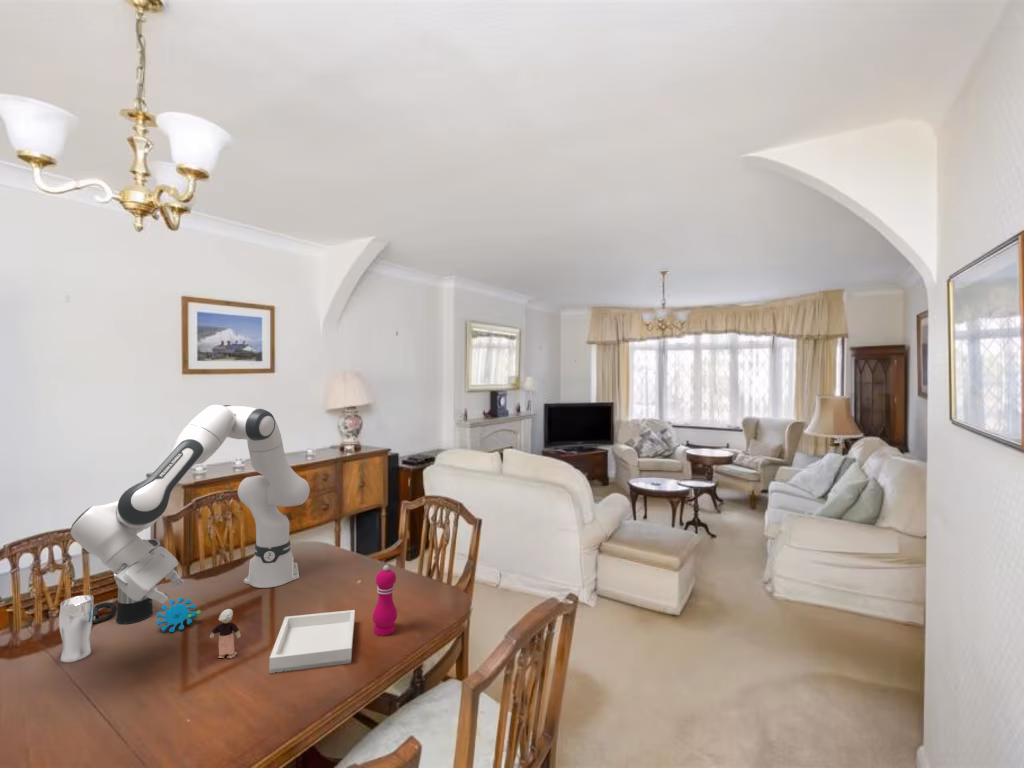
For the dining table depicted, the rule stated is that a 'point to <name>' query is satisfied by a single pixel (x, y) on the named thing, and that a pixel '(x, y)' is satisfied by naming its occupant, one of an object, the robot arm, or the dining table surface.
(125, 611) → the milk frother
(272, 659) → the tray
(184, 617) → the gear
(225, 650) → the grandmother figurine
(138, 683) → the dining table surface
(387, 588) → the pepper mill
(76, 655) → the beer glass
